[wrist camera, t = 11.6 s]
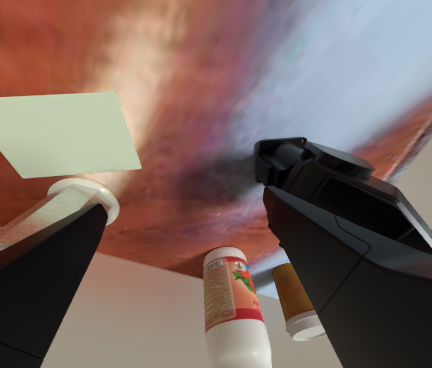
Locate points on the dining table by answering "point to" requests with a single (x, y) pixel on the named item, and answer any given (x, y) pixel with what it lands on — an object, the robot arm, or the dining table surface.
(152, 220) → the dining table surface
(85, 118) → the sage placemat
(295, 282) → the disposable coffee cup
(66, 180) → the teal puck on dish
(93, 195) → the grey metal canister
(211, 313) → the fruit juice
